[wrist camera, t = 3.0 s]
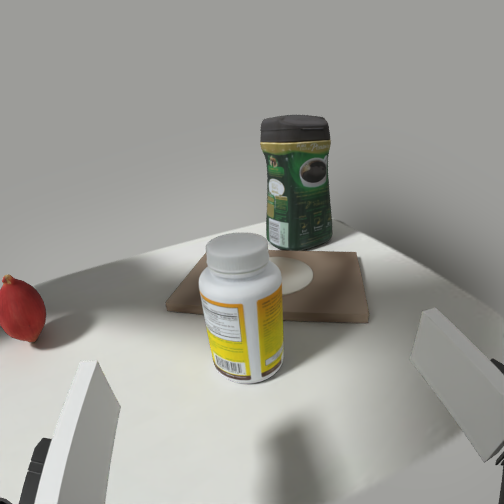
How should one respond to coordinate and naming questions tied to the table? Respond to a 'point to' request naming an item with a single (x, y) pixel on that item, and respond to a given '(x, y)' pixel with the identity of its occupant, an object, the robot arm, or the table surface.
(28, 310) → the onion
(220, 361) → the supplement bottle
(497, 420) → the robot arm
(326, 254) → the brown flat board
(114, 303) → the table surface
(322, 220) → the coffee jar
